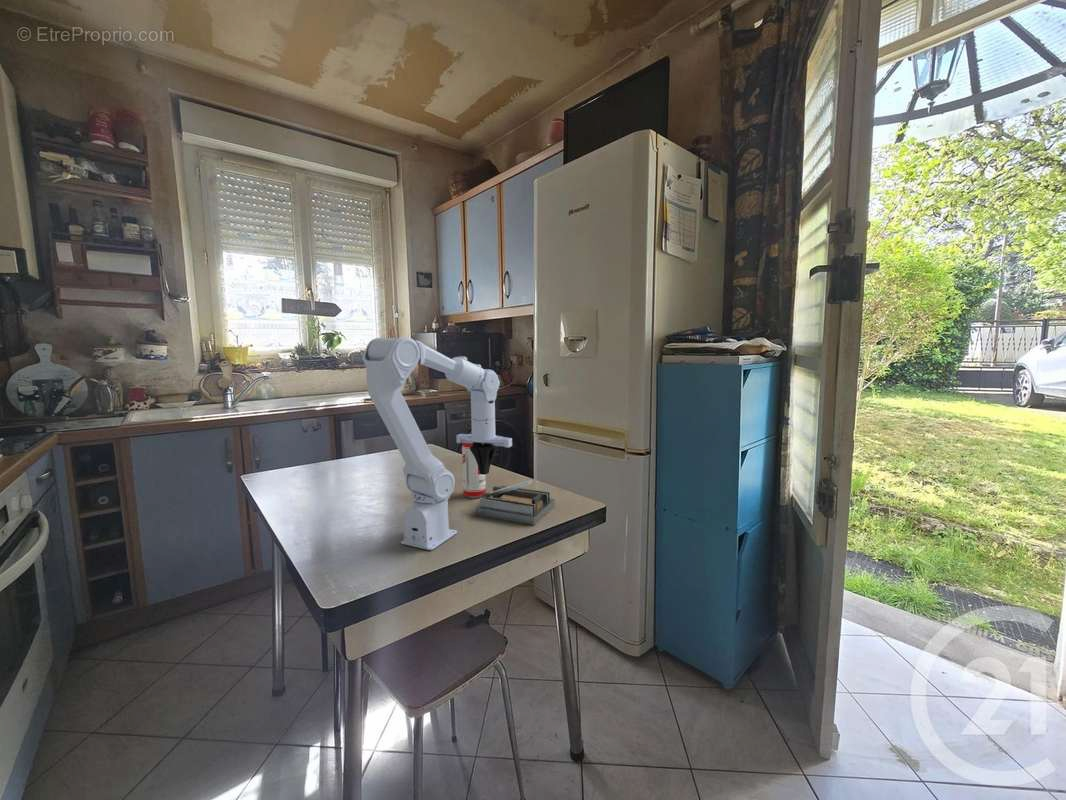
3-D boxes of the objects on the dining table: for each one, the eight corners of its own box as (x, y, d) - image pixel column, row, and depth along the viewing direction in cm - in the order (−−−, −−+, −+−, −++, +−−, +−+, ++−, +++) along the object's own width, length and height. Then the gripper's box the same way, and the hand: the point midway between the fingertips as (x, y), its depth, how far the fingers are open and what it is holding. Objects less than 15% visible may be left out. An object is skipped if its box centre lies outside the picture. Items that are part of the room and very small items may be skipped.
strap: (528, 486, 104) (526, 482, 104) (487, 498, 109) (485, 494, 109) (534, 481, 107) (533, 478, 107) (494, 493, 113) (493, 490, 113)
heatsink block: (534, 525, 99) (534, 506, 99) (475, 515, 106) (474, 497, 105) (554, 506, 111) (554, 489, 110) (500, 498, 117) (500, 482, 117)
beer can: (487, 491, 123) (486, 437, 121) (483, 499, 117) (481, 441, 115) (466, 491, 124) (465, 437, 122) (460, 498, 117) (459, 441, 116)
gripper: (517, 417, 104) (518, 472, 106) (466, 414, 110) (468, 466, 111) (503, 422, 98) (504, 480, 99) (450, 418, 104) (452, 473, 105)
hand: (484, 473), depth 105 cm, fingers closed
